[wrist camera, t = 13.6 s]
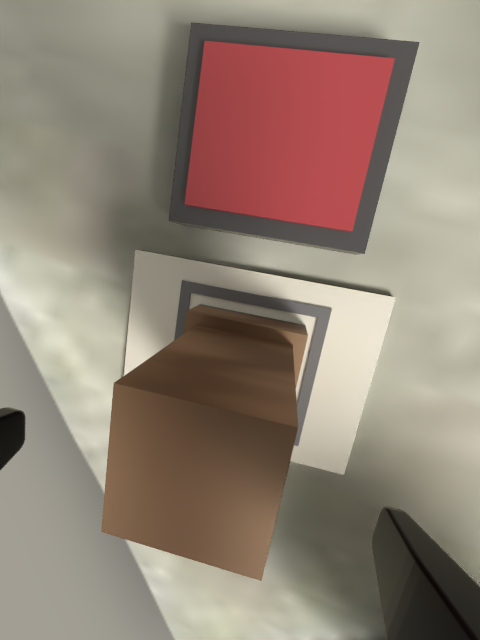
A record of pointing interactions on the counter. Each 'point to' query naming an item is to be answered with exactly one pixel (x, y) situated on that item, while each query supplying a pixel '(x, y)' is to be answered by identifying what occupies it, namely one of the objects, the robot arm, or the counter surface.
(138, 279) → the paper sheet
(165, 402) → the stamp
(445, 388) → the counter surface
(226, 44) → the ink pad
